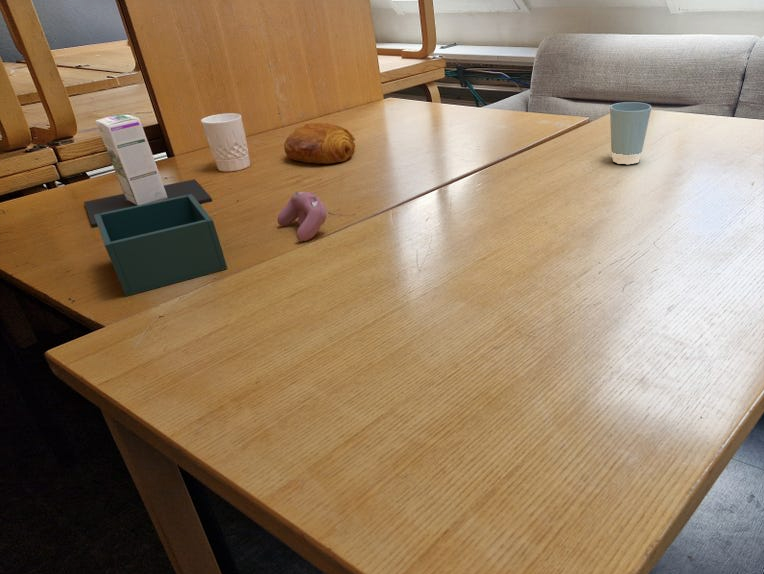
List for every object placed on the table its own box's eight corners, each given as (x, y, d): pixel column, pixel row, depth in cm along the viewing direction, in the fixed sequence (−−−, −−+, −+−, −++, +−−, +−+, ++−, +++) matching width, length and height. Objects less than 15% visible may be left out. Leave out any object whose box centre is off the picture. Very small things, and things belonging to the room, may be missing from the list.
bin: (126, 296, 83) (104, 245, 79) (113, 262, 93) (93, 214, 88) (227, 269, 89) (212, 219, 85) (206, 239, 99) (191, 193, 94)
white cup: (261, 164, 132) (249, 115, 126) (231, 174, 126) (217, 124, 121) (236, 159, 135) (224, 112, 130) (207, 169, 130) (192, 120, 124)
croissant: (328, 180, 127) (324, 142, 122) (273, 160, 133) (267, 123, 128) (372, 159, 137) (371, 123, 132) (320, 141, 143) (316, 106, 138)
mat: (92, 227, 105) (91, 224, 105) (84, 204, 115) (83, 201, 115) (212, 201, 114) (211, 197, 113) (195, 182, 123) (194, 179, 123)
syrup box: (169, 198, 114) (141, 116, 106) (137, 207, 110) (105, 123, 102) (156, 192, 117) (128, 112, 109) (124, 201, 114) (93, 119, 106)
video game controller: (323, 247, 98) (335, 204, 96) (296, 242, 95) (308, 197, 93) (300, 228, 104) (310, 188, 102) (274, 223, 101) (284, 181, 99)
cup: (604, 166, 120) (609, 110, 114) (606, 155, 126) (610, 101, 121) (644, 167, 119) (651, 111, 113) (644, 156, 125) (650, 102, 119)
